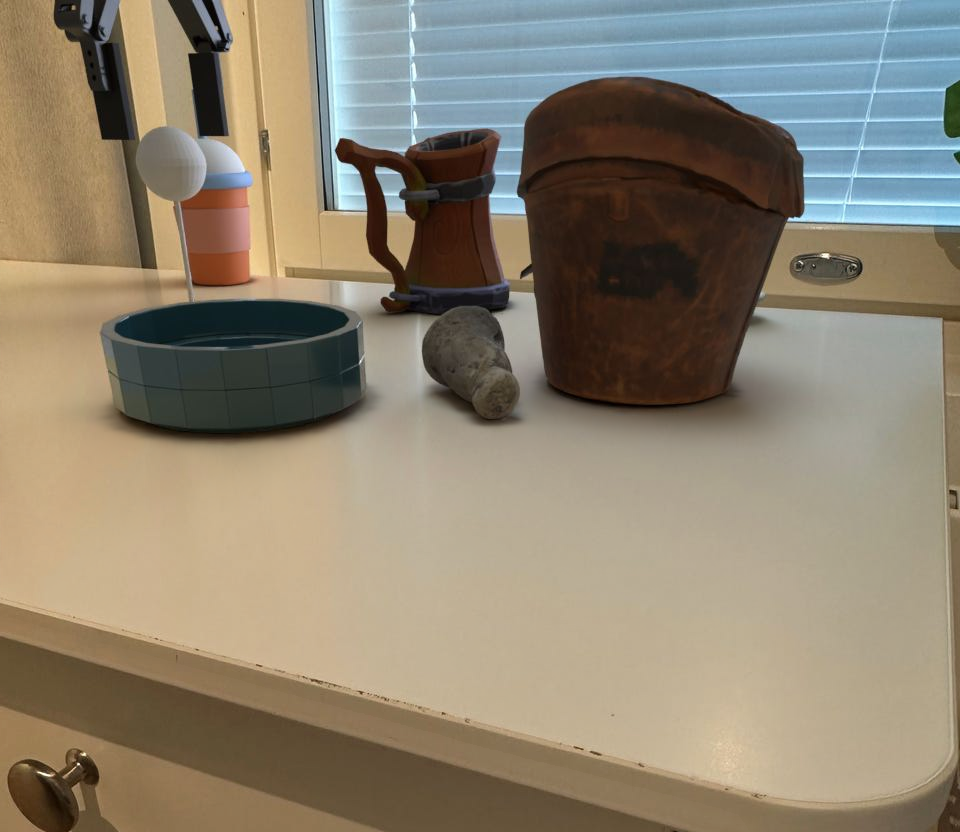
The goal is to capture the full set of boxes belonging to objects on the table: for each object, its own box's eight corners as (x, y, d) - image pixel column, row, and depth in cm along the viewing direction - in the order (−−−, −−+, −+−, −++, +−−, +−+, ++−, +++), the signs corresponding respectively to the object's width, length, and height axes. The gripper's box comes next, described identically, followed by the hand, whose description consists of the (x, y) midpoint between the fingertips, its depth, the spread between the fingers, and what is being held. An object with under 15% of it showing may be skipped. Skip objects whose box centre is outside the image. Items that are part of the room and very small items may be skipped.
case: (701, 346, 72) (736, 87, 63) (824, 417, 55) (895, 78, 46) (486, 353, 70) (490, 84, 60) (546, 430, 53) (563, 72, 43)
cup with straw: (202, 273, 102) (176, 90, 93) (276, 276, 101) (257, 90, 92) (162, 286, 95) (130, 88, 85) (242, 289, 93) (217, 88, 84)
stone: (522, 438, 54) (579, 332, 56) (464, 380, 51) (526, 270, 52) (429, 441, 62) (482, 348, 63) (374, 391, 58) (430, 295, 60)
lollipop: (146, 308, 84) (114, 125, 76) (195, 299, 88) (170, 125, 81) (189, 315, 81) (160, 126, 73) (238, 306, 85) (216, 126, 78)
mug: (389, 330, 76) (380, 130, 69) (315, 310, 84) (300, 128, 76) (535, 305, 87) (542, 129, 79) (458, 290, 94) (457, 127, 86)
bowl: (61, 422, 53) (41, 336, 51) (210, 363, 66) (200, 292, 63) (290, 452, 49) (281, 360, 46) (403, 383, 62) (400, 307, 59)
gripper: (37, -247, 55) (110, 142, 66) (251, -151, 76) (280, 135, 86) (-56, -234, 57) (30, 141, 68) (177, -143, 78) (214, 134, 89)
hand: (170, 138), depth 77 cm, fingers open, 13 cm apart
